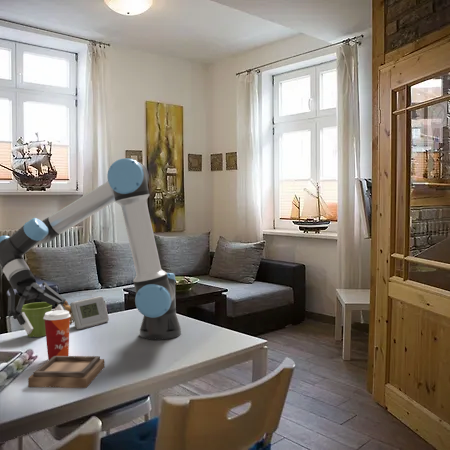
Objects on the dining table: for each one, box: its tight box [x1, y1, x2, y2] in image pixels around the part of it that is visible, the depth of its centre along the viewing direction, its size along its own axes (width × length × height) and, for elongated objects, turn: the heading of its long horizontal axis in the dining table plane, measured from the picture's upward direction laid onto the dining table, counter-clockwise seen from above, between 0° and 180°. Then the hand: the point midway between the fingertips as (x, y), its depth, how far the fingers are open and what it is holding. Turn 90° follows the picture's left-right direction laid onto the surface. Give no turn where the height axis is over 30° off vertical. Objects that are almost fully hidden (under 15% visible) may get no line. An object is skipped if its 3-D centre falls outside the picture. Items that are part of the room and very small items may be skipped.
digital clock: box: [69, 295, 110, 330], centre depth 199 cm, size 16×9×11 cm, turn 133°
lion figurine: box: [54, 300, 74, 325], centre depth 206 cm, size 15×5×9 cm, turn 50°
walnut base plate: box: [27, 355, 105, 389], centre depth 141 cm, size 16×16×4 cm
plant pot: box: [21, 301, 53, 338], centre depth 185 cm, size 12×12×11 cm
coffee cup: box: [43, 309, 72, 361], centre depth 156 cm, size 8×8×15 cm
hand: (49, 326), depth 157 cm, fingers open, 13 cm apart
